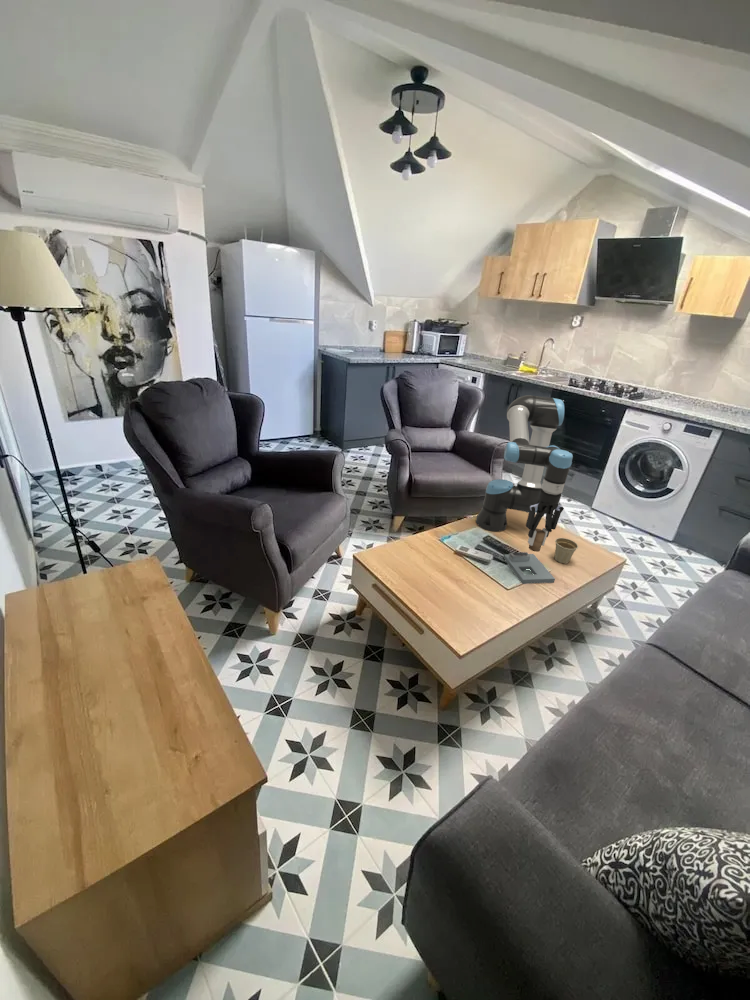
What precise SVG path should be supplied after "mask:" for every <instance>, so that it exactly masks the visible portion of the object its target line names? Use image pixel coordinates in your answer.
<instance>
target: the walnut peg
mask: <svg viewBox="0 0 750 1000" xmlns="http://www.w3.org/2000/svg"><path fill="white" fill-rule="evenodd" d="M536 531H537V532H536V536H535V539H534V543H533V546H531V545H530V544H529V543H528V544H529V545H528V549H529V550H530V551H532V552H536V553H537V552H540V551H541V548H542V542H543V539H544V536H545V532H544V531H543V530H542V529H541V528H536Z"/></svg>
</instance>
